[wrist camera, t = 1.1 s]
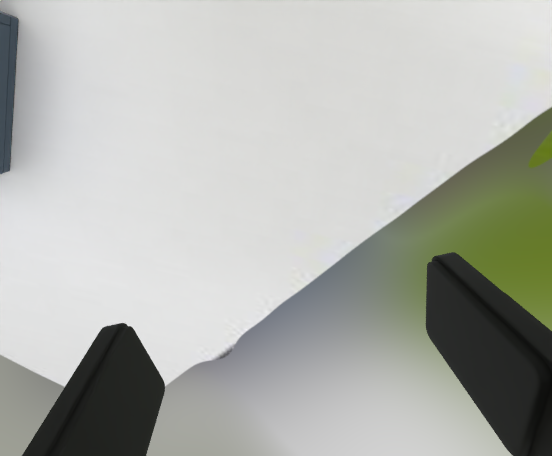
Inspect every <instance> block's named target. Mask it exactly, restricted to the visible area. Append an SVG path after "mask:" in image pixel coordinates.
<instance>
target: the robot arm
mask: <svg viewBox="0 0 552 456" xmlns="http://www.w3.org/2000/svg"><path fill="white" fill-rule="evenodd" d="M426 298H427V299H426V330H427V333H428V336H429V337H430V339H431V341H432V342H433V343H434V345H435V346H436V347H437V349H438V351H439V352H440V354H441V355H442V356H443V358H444V359H445V361H446V362H447V364H448V365H449V367H450V368H451V369H452V371H453V372H454V374H455V375H456V377H457V378H458V379H459V381H460V382H461V384H462V385H463V387H464V388H465V390H466V391H467V392H468V394H469V395H470V397H471V398H472V400H473V401H474V403H475V404H476V405H477V407H478V408H479V410H480V411H481V413H482V414H483V415H484V417H485V418H486V420H487V421H488V422H489V424H490V425H491V427H492V428H493V430H494V431H495V433H496V434H497V435H498V437H499V439H500V440H501V441H502V443H503V444H504V446H505V447H506V448H507V450H508V451H509V452H510V453H511V454H512V455H513V456H552V331H551V330H549V329H548V328H547V327H546V326H545V325H543V324H542V323H541V322H540V321H539V320H537V319H536V318H535V317H534V316H533V315H531V314H530V313H529V312H528V311H526V310H525V309H524V308H523V307H522V306H520V305H519V304H518V303H517V302H516V301H514V300H513V299H512V298H511V297H510V296H508V295H507V294H505V293H504V292H503V291H501V290H500V289H499V288H498V287H497V286H495V285H494V284H493V283H492V282H491V281H489V280H488V279H487V278H486V277H484V276H483V275H482V274H481V273H480V272H479V271H477V270H476V269H475V268H474V267H472V266H471V265H470V264H469V263H468V262H466V261H465V260H464V259H463V258H462V257H460V256H459V255H458V254H456V253H453V252H452V253H447V254H443V255H438V256H434V257H433V259H432V262H429V263H428V264H427V296H426ZM164 391H165V384H164V381H163V379H162V377H161V375H160V374H159V372H158V370H157V369H156V367H155V365H154V363H153V362H152V360H151V358H150V357H149V355H148V353H147V351H146V350H145V348H144V346H143V345H142V343H141V341H140V339H139V338H138V336H137V334H136V333H135V331H134V329H133V328H132V327H130V326H129V327H128V326H127V325H126V324H125V323H120V324H116V325H111V326H106V327H104V328H102V330H101V331H100V332H99V334H98V335H97V337H96V339H95V340H94V342H93V343H92V345H91V347H90V348H89V350H88V351H87V353H86V355H85V356H84V358H83V359H82V361H81V363H80V364H79V366H78V367H77V369H76V371H75V372H74V374H73V375H72V377H71V378H70V380H69V382H68V383H67V385H66V386H65V388H64V390H63V391H62V393H61V394H60V396H59V398H58V399H57V401H56V402H55V404H54V406H53V407H52V409H51V410H50V412H49V414H48V415H47V417H46V419H45V420H44V422H43V423H42V425H41V426H40V428H39V430H38V431H37V433H36V434H35V436H34V438H33V439H32V441H31V443H30V444H29V445H28V447H27V449H26V450H25V452H24V454H23V455H22V456H146V454H147V450H148V447H149V443H150V440H151V436H152V433H153V429H154V426H155V423H156V419H157V416H158V413H159V409H160V406H161V402H162V399H163V396H164Z"/></svg>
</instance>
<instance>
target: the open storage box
mask: <svg viewBox="0 0 552 456" xmlns="http://www.w3.org/2000/svg"><path fill="white" fill-rule="evenodd" d="M17 33H18V18H16V17H14V16H11V15H9V14H7V13H4V12H2V11H0V174H2V173H5V172H8V171H10V154H11V137H12V120H13V102H14V85H15V68H16V50H17Z"/></svg>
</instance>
